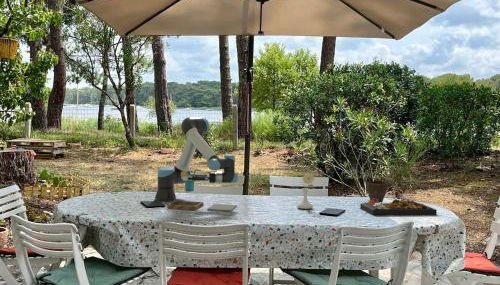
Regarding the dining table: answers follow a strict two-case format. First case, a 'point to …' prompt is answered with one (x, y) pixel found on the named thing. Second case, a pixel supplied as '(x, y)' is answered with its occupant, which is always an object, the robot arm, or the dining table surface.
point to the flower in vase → (305, 203)
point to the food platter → (396, 208)
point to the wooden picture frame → (183, 203)
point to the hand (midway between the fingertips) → (182, 177)
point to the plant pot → (376, 190)
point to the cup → (189, 181)
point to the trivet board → (222, 207)
